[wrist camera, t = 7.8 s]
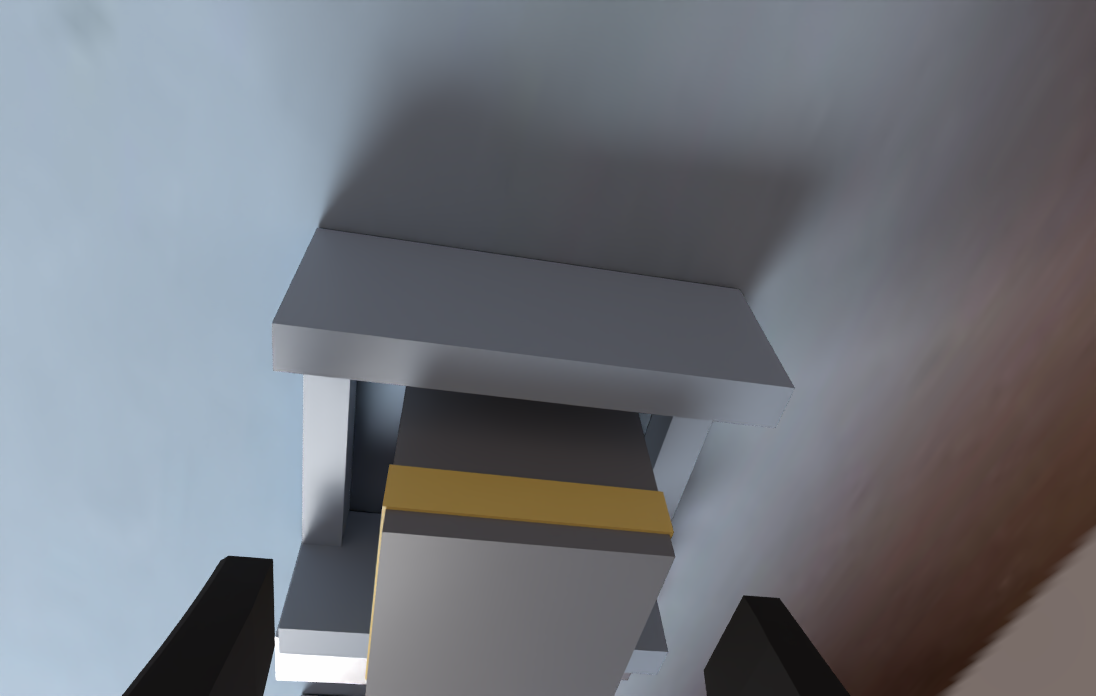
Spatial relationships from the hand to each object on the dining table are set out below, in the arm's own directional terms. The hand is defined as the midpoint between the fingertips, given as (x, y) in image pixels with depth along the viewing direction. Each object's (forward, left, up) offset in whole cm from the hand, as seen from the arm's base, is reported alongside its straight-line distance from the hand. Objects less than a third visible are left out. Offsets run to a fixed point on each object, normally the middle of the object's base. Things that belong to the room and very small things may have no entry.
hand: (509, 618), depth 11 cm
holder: (0, 0, -5) cm, 5 cm away
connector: (0, 0, -5) cm, 5 cm away
